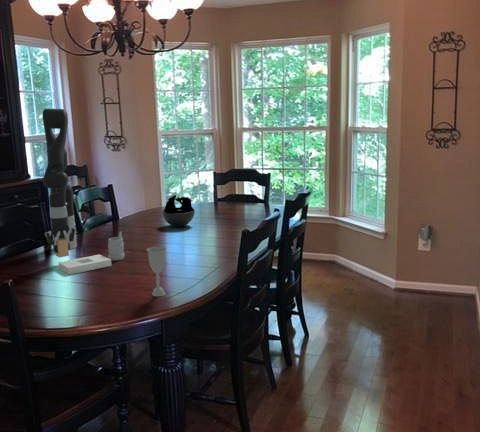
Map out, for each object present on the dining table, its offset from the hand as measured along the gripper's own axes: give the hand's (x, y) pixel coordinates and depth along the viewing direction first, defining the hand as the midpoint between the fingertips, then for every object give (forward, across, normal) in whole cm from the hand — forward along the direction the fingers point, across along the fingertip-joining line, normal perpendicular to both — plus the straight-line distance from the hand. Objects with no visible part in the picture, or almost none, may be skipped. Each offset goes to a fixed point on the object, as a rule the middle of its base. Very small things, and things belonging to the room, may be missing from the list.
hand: (61, 251), depth 239 cm
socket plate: (+6, -6, +12) cm, 14 cm away
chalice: (+5, -12, +66) cm, 67 cm away
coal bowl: (+8, -86, -33) cm, 92 cm away
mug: (+7, -25, +6) cm, 27 cm away
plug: (+2, 0, 0) cm, 2 cm away
